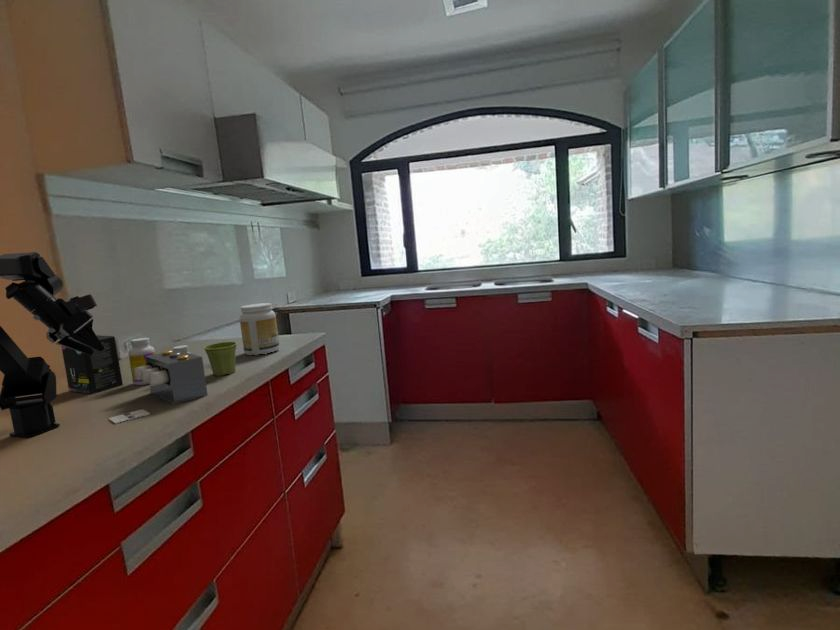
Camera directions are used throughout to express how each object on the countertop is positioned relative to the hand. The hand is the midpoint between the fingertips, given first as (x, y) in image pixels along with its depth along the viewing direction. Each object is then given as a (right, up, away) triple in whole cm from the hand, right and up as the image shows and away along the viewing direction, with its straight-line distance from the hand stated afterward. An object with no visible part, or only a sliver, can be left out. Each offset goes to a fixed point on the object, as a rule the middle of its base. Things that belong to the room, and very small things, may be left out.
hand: (97, 352), depth 119 cm
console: (+16, -12, +9) cm, 21 cm away
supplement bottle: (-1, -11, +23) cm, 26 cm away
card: (+12, -14, -8) cm, 20 cm away
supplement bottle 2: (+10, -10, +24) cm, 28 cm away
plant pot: (+20, -9, +27) cm, 35 cm away
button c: (+7, -7, +8) cm, 13 cm away
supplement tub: (+23, -4, +54) cm, 59 cm away
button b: (+11, -8, +4) cm, 14 cm away
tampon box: (-14, -12, +21) cm, 28 cm away
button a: (+15, -8, 0) cm, 17 cm away
